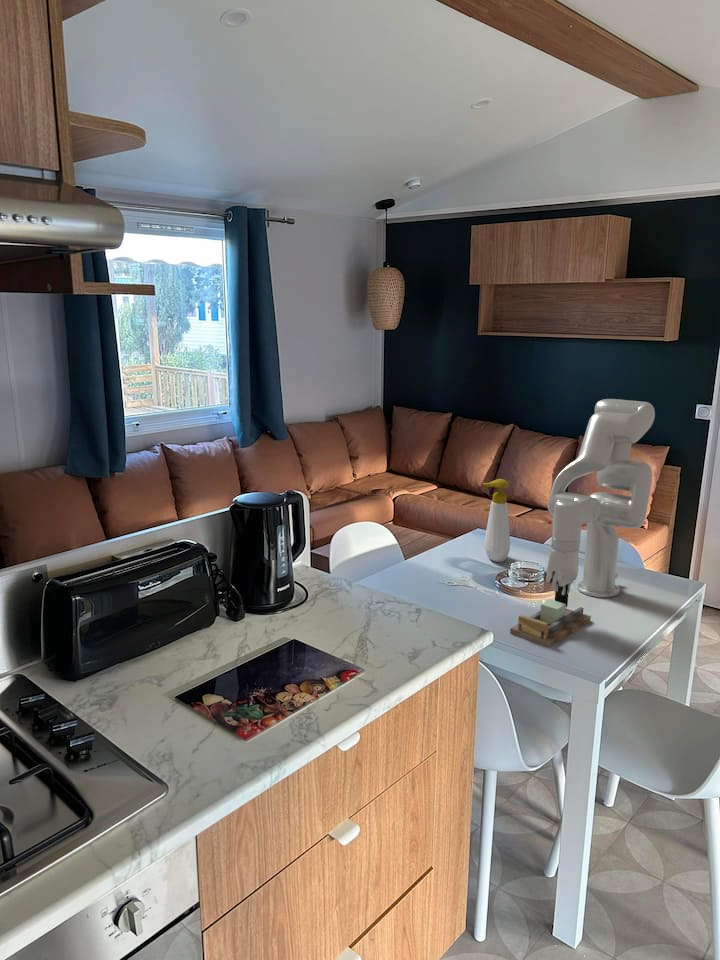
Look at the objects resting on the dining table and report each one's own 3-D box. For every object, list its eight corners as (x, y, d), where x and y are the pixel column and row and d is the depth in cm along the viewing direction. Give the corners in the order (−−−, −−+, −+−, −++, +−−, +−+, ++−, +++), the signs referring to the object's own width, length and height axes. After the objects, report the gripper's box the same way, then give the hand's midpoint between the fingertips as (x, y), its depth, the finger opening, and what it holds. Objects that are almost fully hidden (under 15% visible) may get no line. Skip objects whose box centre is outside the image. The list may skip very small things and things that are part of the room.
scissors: (459, 574, 245) (509, 590, 231) (459, 576, 246) (509, 592, 231) (438, 581, 238) (488, 599, 224) (438, 584, 239) (488, 601, 224)
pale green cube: (548, 615, 209) (549, 599, 208) (564, 620, 206) (566, 604, 205) (539, 621, 206) (540, 604, 204) (555, 626, 202) (557, 609, 201)
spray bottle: (474, 553, 266) (477, 475, 260) (502, 552, 268) (506, 474, 261) (484, 566, 254) (488, 483, 247) (513, 565, 255) (518, 483, 248)
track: (552, 609, 218) (553, 591, 217) (590, 621, 210) (591, 602, 209) (510, 633, 202) (511, 614, 200) (549, 647, 194) (551, 627, 192)
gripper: (566, 535, 212) (561, 595, 216) (539, 547, 201) (535, 610, 205) (590, 541, 207) (585, 602, 211) (564, 553, 196) (559, 617, 200)
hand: (560, 606), depth 208 cm, fingers closed
